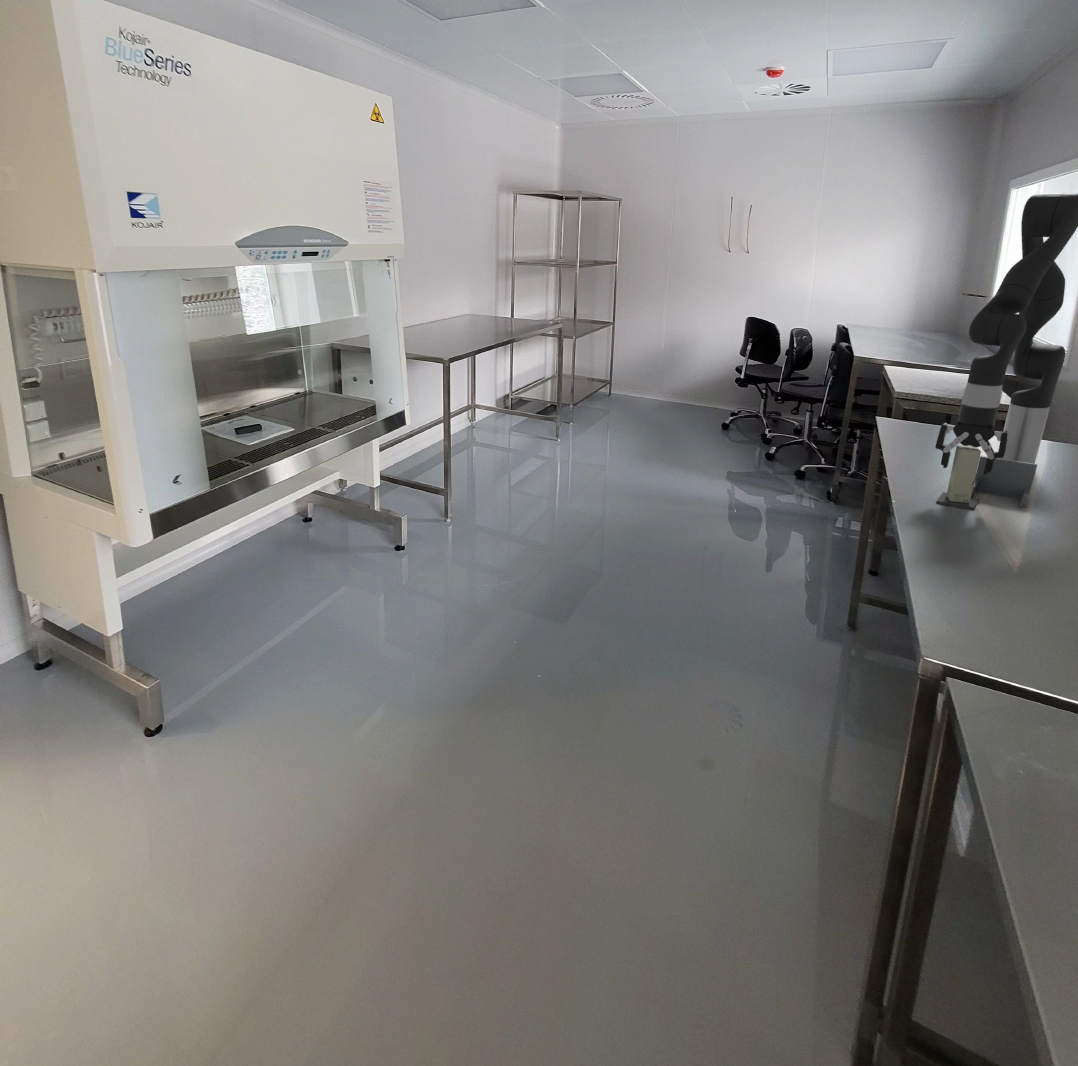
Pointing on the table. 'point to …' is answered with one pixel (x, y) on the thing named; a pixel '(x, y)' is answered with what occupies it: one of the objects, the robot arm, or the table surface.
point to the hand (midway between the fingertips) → (964, 470)
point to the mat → (945, 501)
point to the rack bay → (1005, 479)
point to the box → (963, 473)
